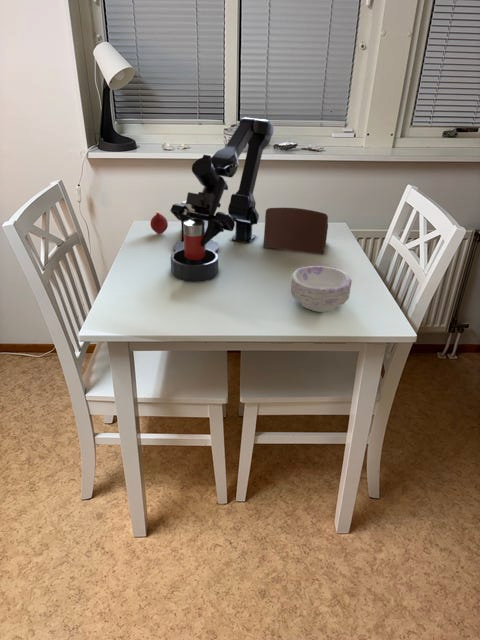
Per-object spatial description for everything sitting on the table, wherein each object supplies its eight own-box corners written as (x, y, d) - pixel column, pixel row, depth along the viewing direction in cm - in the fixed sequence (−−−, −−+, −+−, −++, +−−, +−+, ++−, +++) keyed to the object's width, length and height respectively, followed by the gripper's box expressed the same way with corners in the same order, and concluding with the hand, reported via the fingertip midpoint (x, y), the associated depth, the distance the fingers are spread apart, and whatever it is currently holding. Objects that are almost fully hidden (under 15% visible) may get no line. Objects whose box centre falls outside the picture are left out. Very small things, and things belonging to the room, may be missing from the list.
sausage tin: (199, 257, 146) (198, 217, 139) (209, 264, 142) (208, 223, 135) (180, 261, 143) (179, 220, 136) (191, 269, 139) (189, 227, 132)
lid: (185, 238, 166) (185, 222, 164) (225, 244, 162) (225, 228, 159) (165, 253, 155) (164, 236, 152) (207, 261, 150) (207, 244, 148)
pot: (184, 259, 151) (183, 244, 148) (224, 266, 147) (225, 251, 145) (163, 277, 140) (162, 261, 137) (206, 285, 136) (206, 269, 133)
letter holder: (323, 254, 157) (328, 212, 150) (263, 247, 161) (265, 206, 154) (326, 243, 165) (331, 202, 158) (268, 237, 169) (271, 197, 162)
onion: (169, 231, 171) (168, 209, 167) (166, 237, 166) (164, 215, 162) (153, 230, 172) (152, 208, 168) (149, 236, 167) (147, 214, 163)
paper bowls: (313, 285, 138) (316, 259, 134) (358, 304, 129) (363, 277, 125) (277, 302, 129) (279, 275, 124) (323, 324, 119) (327, 296, 115)
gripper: (172, 175, 137) (151, 224, 134) (230, 185, 130) (209, 237, 127) (188, 195, 147) (169, 242, 144) (243, 205, 140) (224, 254, 137)
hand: (191, 243), depth 138 cm, fingers closed on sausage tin, 6 cm apart
